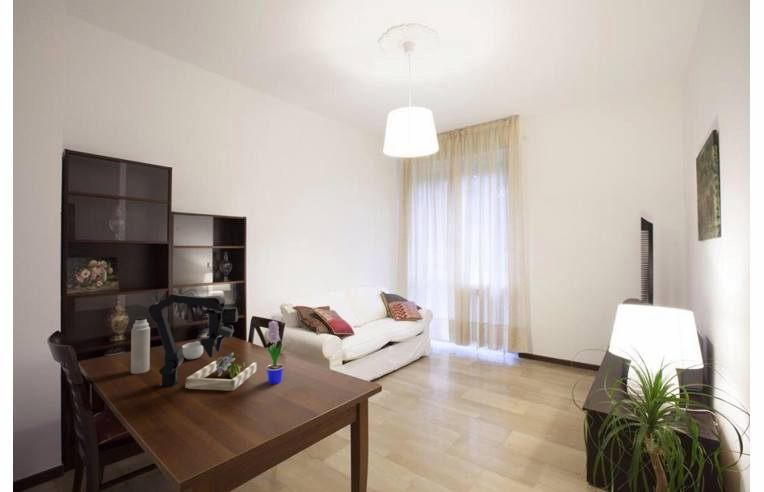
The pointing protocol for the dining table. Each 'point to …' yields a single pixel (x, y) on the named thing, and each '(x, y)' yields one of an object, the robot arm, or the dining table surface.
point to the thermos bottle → (140, 346)
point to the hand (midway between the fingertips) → (214, 354)
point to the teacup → (192, 350)
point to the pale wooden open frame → (201, 382)
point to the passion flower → (228, 365)
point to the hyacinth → (274, 355)
